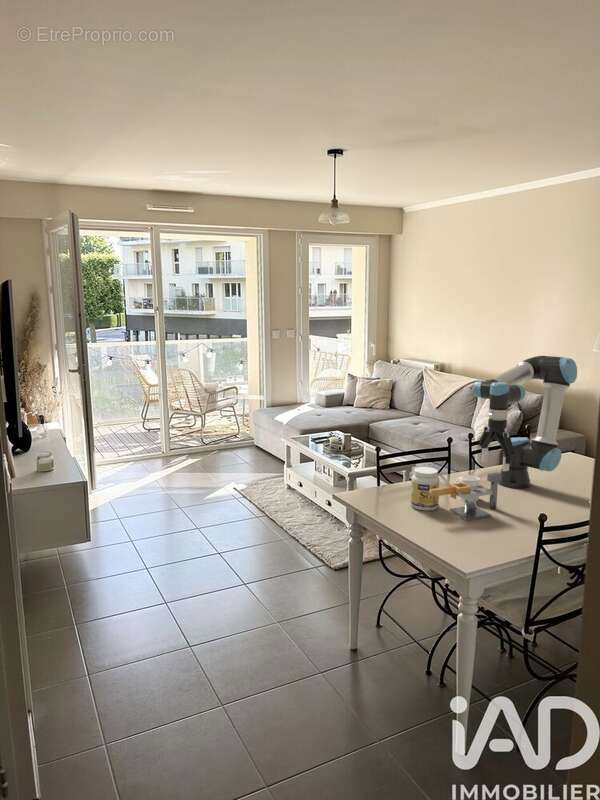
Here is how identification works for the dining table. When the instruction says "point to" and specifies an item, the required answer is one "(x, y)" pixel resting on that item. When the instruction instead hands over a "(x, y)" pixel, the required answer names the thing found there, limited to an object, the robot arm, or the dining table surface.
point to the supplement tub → (424, 488)
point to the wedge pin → (494, 488)
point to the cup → (469, 481)
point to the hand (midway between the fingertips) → (494, 466)
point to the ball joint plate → (472, 502)
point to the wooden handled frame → (450, 490)
